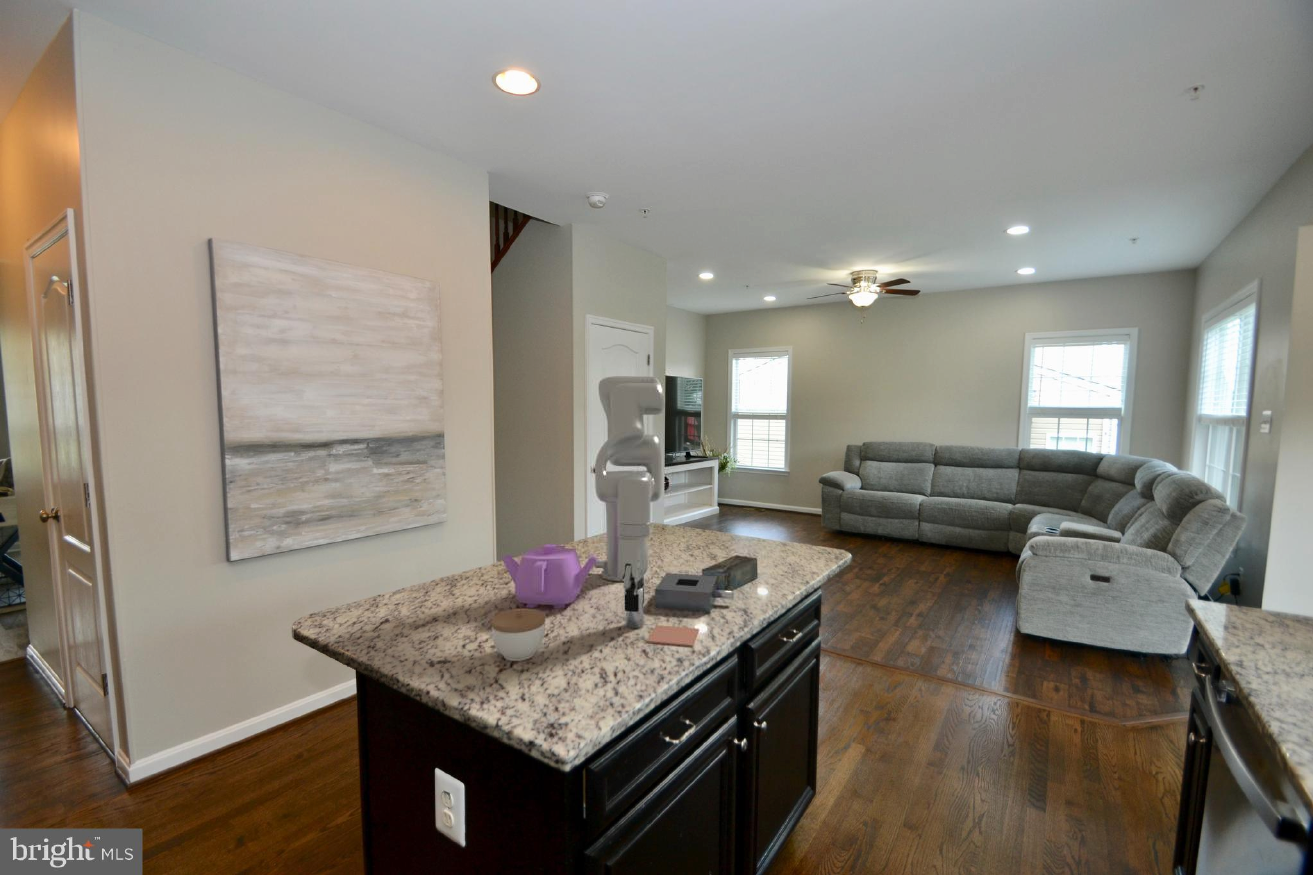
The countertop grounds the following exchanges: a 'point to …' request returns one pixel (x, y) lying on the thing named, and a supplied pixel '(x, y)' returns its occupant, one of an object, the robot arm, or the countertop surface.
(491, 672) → the countertop surface
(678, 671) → the countertop surface
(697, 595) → the grey slotted box
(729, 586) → the beverage carton
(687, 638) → the mat
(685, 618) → the countertop surface
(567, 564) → the teapot
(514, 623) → the lidded jar
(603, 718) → the countertop surface
